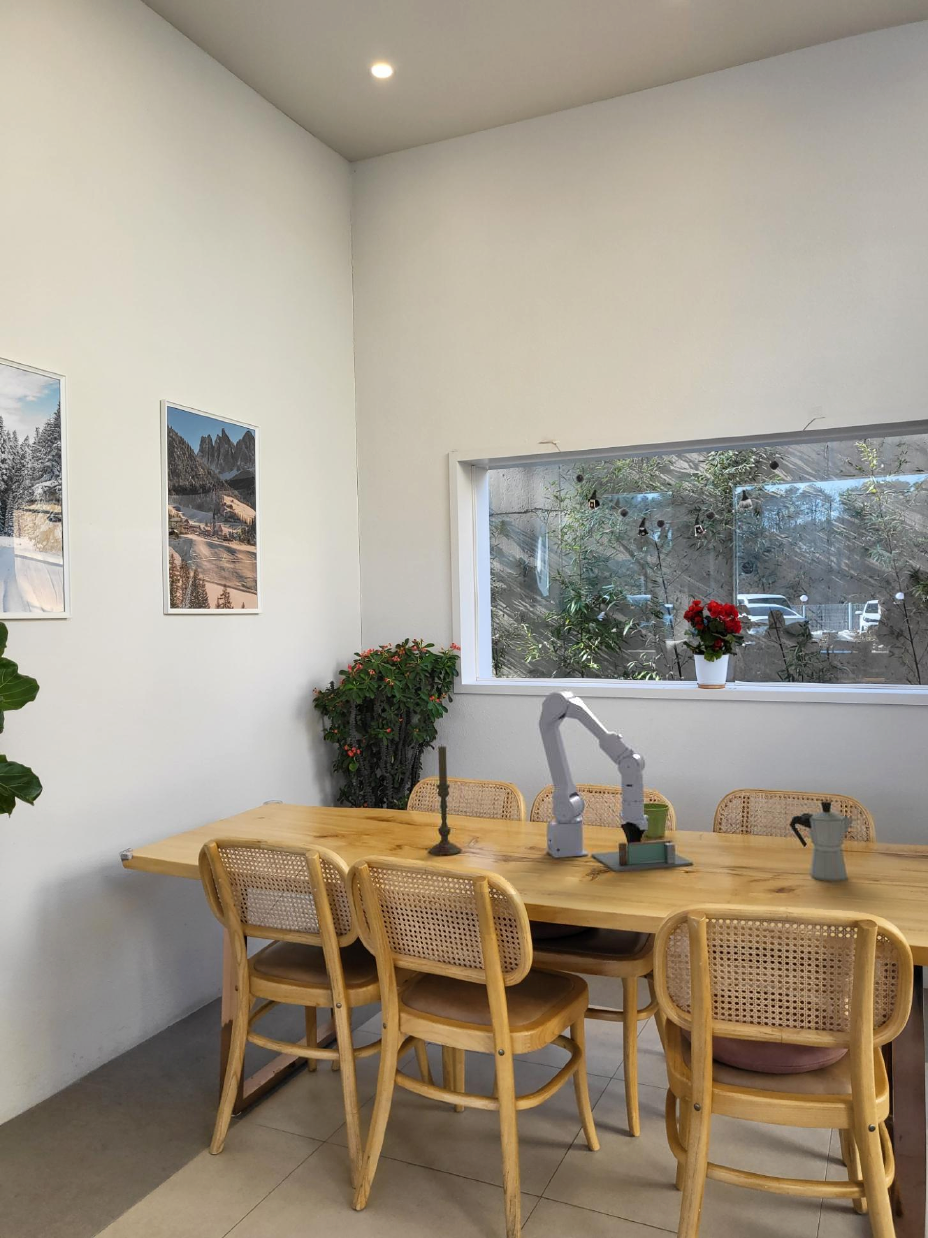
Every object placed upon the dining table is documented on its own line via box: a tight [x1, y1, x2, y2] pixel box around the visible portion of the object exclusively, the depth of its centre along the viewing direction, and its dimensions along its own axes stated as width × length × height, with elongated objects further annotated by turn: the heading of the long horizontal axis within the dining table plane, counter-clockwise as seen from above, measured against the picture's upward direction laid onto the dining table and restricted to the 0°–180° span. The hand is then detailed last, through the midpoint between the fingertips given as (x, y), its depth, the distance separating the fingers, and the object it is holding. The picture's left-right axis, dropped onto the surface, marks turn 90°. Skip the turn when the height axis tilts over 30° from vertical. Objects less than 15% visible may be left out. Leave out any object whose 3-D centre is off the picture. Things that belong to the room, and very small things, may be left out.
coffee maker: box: [789, 800, 856, 882], centre depth 225 cm, size 15×9×18 cm, turn 77°
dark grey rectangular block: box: [664, 843, 676, 864], centre depth 239 cm, size 2×2×6 cm
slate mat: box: [591, 850, 694, 873], centre depth 244 cm, size 21×17×1 cm
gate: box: [627, 839, 674, 864], centre depth 240 cm, size 12×1×5 cm, turn 102°
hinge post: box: [618, 842, 628, 866], centre depth 238 cm, size 2×2×6 cm
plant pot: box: [643, 802, 670, 839], centre depth 272 cm, size 9×9×9 cm
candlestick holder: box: [428, 743, 462, 857], centre depth 259 cm, size 9×9×30 cm
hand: (634, 851), depth 246 cm, fingers closed
